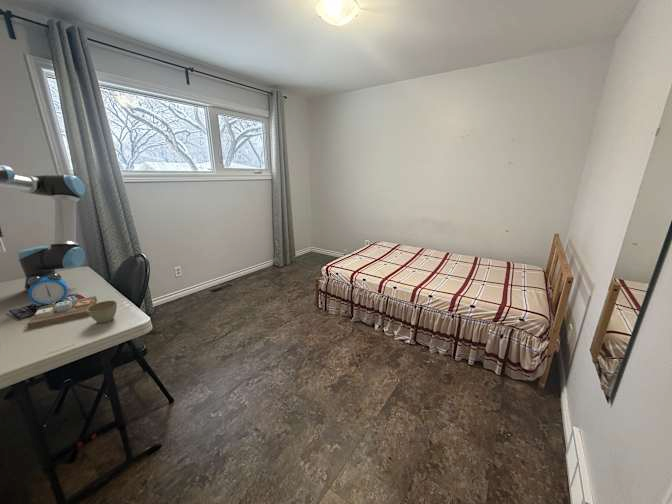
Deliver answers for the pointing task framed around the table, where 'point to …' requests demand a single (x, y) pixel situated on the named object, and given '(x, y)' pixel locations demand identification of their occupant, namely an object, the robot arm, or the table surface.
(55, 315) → the board
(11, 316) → the table surface
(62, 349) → the table surface
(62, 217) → the robot arm
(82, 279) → the table surface
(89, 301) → the tile
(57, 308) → the two-dot tile
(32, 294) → the alarm clock
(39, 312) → the tile
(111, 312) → the beige bowl
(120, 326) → the table surface
